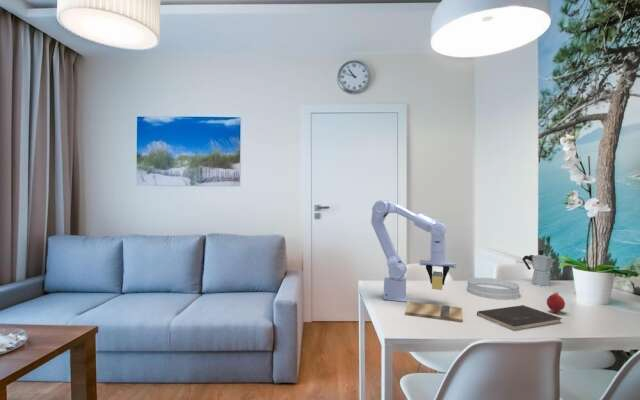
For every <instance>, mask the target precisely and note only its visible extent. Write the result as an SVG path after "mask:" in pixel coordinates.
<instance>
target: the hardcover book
mask: <svg viewBox="0 0 640 400" xmlns="http://www.w3.org/2000/svg"><path fill="white" fill-rule="evenodd" d="M476 316H477V317H481V318H484V319H485V320H488V321H490V322H493V323H496V324H498V325H500V326H503V327H505V328H507V329H510V330H513V331H517V330H523V329H530V328H535V327H536V328H537V327H540V326H547V325H554V324H560V323H561V320H562V319H563V318H562V317H560V316H557V315H553V314H551V313H547V312H545V311H541V310H538V309H536V308H533V307H530V306H527V305H522V304H521V305H515V306H514V305H513V306H506V307H501V308H500V307H499V308H492V309H485V310H478V311H477V312H476Z"/></svg>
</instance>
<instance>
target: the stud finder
mask: <svg viewBox="0 0 640 400" xmlns="http://www.w3.org/2000/svg"><path fill="white" fill-rule="evenodd" d="M442 281H443V271H433V270H432V284H431V289H432V290H438V291H443V286H444V285H442Z"/></svg>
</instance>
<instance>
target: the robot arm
mask: <svg viewBox="0 0 640 400" xmlns="http://www.w3.org/2000/svg"><path fill="white" fill-rule="evenodd" d="M371 212H372V213H371V218H370V219H371V221H370V224H371V226H372V229H373V230H374V233H375V234H376V237H377V240H378V241H379V244H380V247H381V249H382V251H383V254H384V256H385V259H386V266H387V267H388V275H389V277H384V280H383V300H388V301H398V302H407V300H408V298H409V296H408V295H407V277H406V275H405V274H406V272H407V271H408V269H407V265H406V264H405V263H404V262H403V260H402V259H401V257H400V255H398V252H397V251H396V249H395V246H394V244H393V242H392V240H391V237H390V235H389V232H388V230H387V228H386V225H385V224H384V222H385V220H386V218H387V216H388V215H389V214H397V215H399V216H402V217H404V218H406V219H407V220H410V221H413V225H414V226H415V227H417V228H419V229H421V230H423V231H425V232H427V233H429V232H430V234H431V235H430V236H431V240H430V260H425V259H424V260H423V259H422V260H421V259H420V260H419V266H422V267H423V266H425V271H426V272H427V274H428V277H429V282H430V285H432V274H433V267H437V268H438V267H439V268H442V273H443V281H442V285H443V286H444V285H445V281H446V278H447V275H448V273H449V271H450V268H452V269H457V262H451V261H446V235H445V233H446V230H447V229H446V226H445V225H444V224H443V223H442V222H440V221H438V220H437V219H433V218H431V217H429V216H428V215H427V214H426V213H418V214H416V213H414V212H412V211H411V210H409V209H407V208H405V207H404V206H401V204H398V203H396V202H393V201H389V200H388V199H387V200H386V199H378V200H377V201H375V202H374V204H373V206H372V208H371Z"/></svg>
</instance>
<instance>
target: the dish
mask: <svg viewBox="0 0 640 400" xmlns="http://www.w3.org/2000/svg"><path fill="white" fill-rule="evenodd" d="M466 291H467V293H469V294H471V295H474V296H477V297H480V298H484V299H491V300H492V299H493V300H501V301H502V300H504V301H506V300H507V301H508V300H510V299H511V300H516V298H517V299H519V298H520V285H519V284H518V283H516V282H513V281H510V280H506V279H501V278H494V277H493V278H492V277H473V278H472V277H471V278H469V279H467V285H466Z"/></svg>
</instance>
